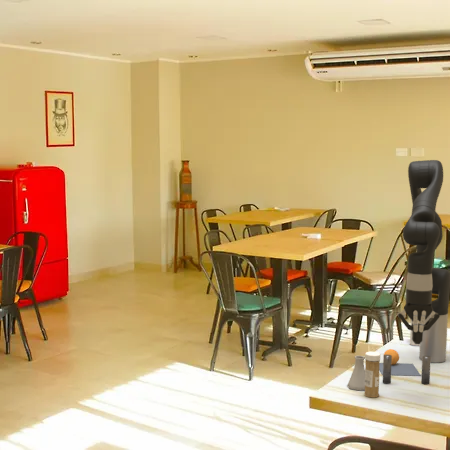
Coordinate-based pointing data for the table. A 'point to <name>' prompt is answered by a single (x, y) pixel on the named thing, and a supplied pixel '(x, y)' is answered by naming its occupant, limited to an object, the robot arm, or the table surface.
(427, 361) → the post
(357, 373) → the flask
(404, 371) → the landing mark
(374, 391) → the sprinkles bottle
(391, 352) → the ball
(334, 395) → the table surface
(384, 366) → the post
